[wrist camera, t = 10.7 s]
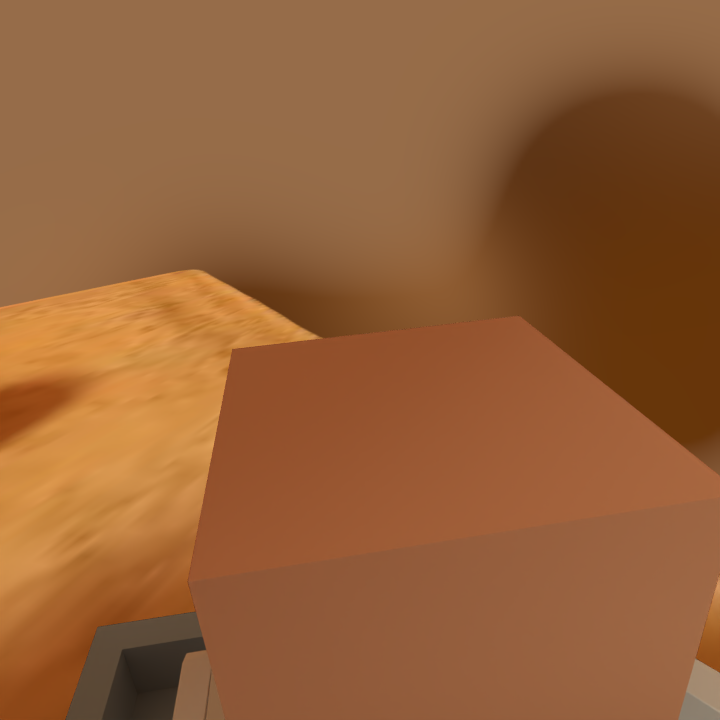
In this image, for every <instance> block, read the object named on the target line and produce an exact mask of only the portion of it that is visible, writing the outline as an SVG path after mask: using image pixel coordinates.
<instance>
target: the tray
mask: <svg viewBox="0 0 720 720" xmlns="http://www.w3.org/2000/svg"><path fill="white" fill-rule="evenodd" d="M204 650H206V647H205V643H204V639H203V636H202V632H201V628H200V625H199V621H198V618H197V614H196V612H190V613H184V614H177V615H171V616H165V617H158V618H152V619H145V620H139V621H132V622H126V623H120V624H113V625H107V626H100V627H98V628H97V630H96V633H95V636H94V639H93V642H92V645H91V648H90V650H89V653H88V656H87V659H86V662H85V665H84V668H83V671H82V673H81V676H80V679H79V682H78V685H77V688H76V691H75V693H74V696H73V699H72V702H71V705H70V708H69V711H68V714H67V716H66V719H65V720H173V714H174V708H175V702H176V697H177V691H178V685H179V679H180V674H181V668H182V663H183V661H184V658H185V656H186V654H187V653H191V652H198V651H204Z"/></svg>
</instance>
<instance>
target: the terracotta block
mask: <svg viewBox="0 0 720 720" xmlns="http://www.w3.org/2000/svg"><path fill="white" fill-rule="evenodd" d="M719 574H720V476H719V475H718V474H717V473H716V472H714V471H713V470H712V469H710V468H709V467H708V466H707V465H705V464H704V463H703V462H702V461H700V460H699V459H698V458H697V457H695V456H694V455H693V454H692V453H690V452H689V451H688V450H687V449H685V448H684V447H683V446H682V445H680V444H679V443H678V442H677V441H675V440H674V439H673V438H672V437H670V436H669V435H668V434H666V433H665V432H664V431H663V430H661V429H660V428H659V427H658V426H657V425H655V424H654V423H653V422H652V421H650V420H649V419H648V418H647V417H645V416H644V415H643V414H641V413H640V412H639V411H638V410H637V409H635V408H634V407H633V406H631V405H630V404H629V403H628V402H627V401H625V400H624V399H623V398H622V397H620V396H619V395H618V394H617V393H615V392H614V391H613V390H611V389H610V388H609V387H608V386H606V385H605V384H604V383H603V382H602V381H600V380H599V379H598V378H597V377H595V376H594V375H593V374H592V373H590V372H589V371H588V370H586V369H585V368H584V367H583V366H582V365H580V364H579V363H578V362H576V361H575V360H574V359H573V358H571V357H570V356H569V355H568V354H566V353H565V352H564V351H563V350H561V349H560V348H559V347H558V346H556V345H555V344H554V343H553V342H551V341H550V340H549V339H548V338H546V337H545V336H544V335H543V334H541V333H540V332H539V331H538V330H536V329H535V328H534V327H533V326H531V325H530V324H529V323H528V322H526V321H525V320H524V319H523V318H521V317H520V316H514V317H504V318H495V319H487V320H478V321H469V322H461V323H453V324H445V325H435V326H428V327H418V328H410V329H402V330H392V331H384V332H375V333H367V334H358V335H350V336H341V337H333V338H324V339H315V340H307V341H298V342H290V343H281V344H273V345H264V346H255V347H247V348H238V349H232V354H231V359H230V364H229V369H228V375H227V380H226V385H225V390H224V395H223V401H222V406H221V411H220V416H219V421H218V427H217V432H216V437H215V442H214V448H213V453H212V458H211V463H210V468H209V474H208V479H207V484H206V489H205V494H204V500H203V505H202V510H201V515H200V521H199V526H198V531H197V536H196V541H195V547H194V552H193V557H192V562H191V567H190V573H189V578H188V585H189V588H190V592H191V596H192V599H193V603H194V607H195V610H196V614H197V618H198V621H199V625H200V628H201V632H202V636H203V639H204V643H205V647H206V650H207V654H208V658H209V661H210V665H211V669H212V672H213V676H214V680H215V683H216V687H217V691H218V694H219V698H220V702H221V705H222V709H223V713H224V716H225V720H678V719H679V715H680V711H681V708H682V704H683V701H684V697H685V694H686V690H687V687H688V683H689V680H690V676H691V673H692V669H693V665H694V662H695V658H696V655H697V651H698V648H699V644H700V641H701V637H702V634H703V630H704V627H705V623H706V620H707V616H708V612H709V609H710V605H711V602H712V598H713V595H714V591H715V588H716V584H717V581H718V577H719Z"/></svg>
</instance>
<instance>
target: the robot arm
mask: <svg viewBox="0 0 720 720" xmlns="http://www.w3.org/2000/svg"><path fill="white" fill-rule="evenodd" d="M173 720H225V716H224V713H223V709H222V705H221V702H220V698H219V694H218V691H217V687H216V683H215V680H214V676H213V672H212V669H211V665H210V661H209V658H208V654H207V650H204V651H198V652H191V653H187V654H186V656H185V658H184V661H183V663H182V668H181V674H180V679H179V685H178V691H177V697H176V702H175V708H174V714H173ZM678 720H720V673H719V672H718V671H716V670H714V669H713V668H711V667H709V666H708V665H706V664H704V663H702V662H701V661H699V660H697V659H696V658H695V662H694V665H693V669H692V673H691V676H690V680H689V683H688V687H687V690H686V694H685V697H684V701H683V704H682V708H681V711H680V715H679V719H678Z"/></svg>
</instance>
